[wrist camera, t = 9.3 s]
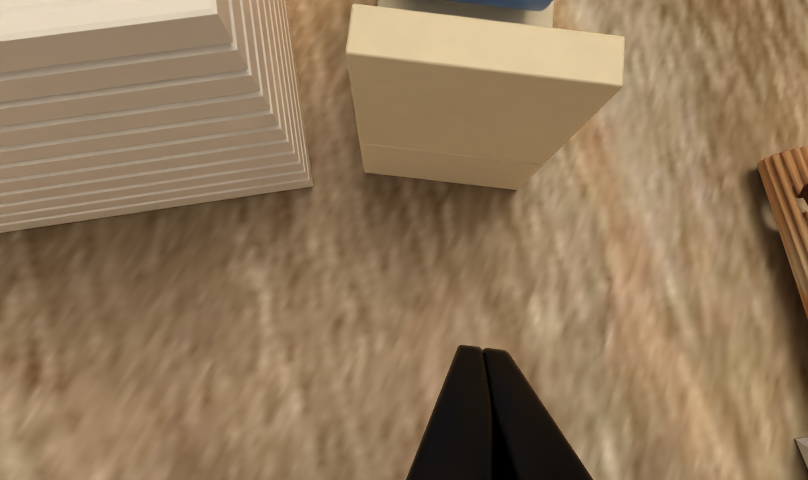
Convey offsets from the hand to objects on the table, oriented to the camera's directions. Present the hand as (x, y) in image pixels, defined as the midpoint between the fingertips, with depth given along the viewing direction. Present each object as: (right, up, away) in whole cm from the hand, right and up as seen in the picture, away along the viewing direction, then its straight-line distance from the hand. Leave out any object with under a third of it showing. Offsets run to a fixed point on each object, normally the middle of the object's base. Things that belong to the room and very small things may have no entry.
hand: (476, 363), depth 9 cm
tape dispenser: (+1, +11, +11) cm, 16 cm away
